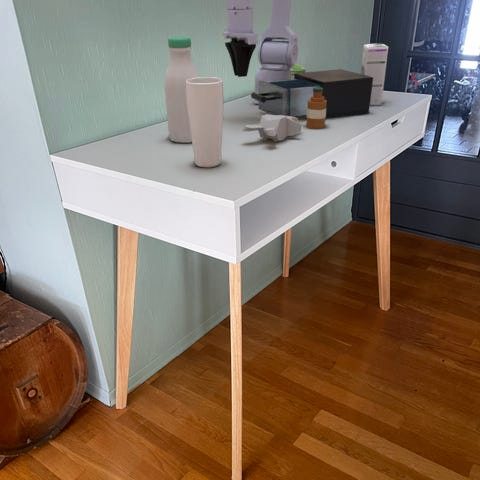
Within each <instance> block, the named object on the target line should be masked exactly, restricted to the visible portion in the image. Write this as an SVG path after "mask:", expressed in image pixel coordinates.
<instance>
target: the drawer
mask: <svg viewBox="0 0 480 480" xmlns="http://www.w3.org/2000/svg"><path fill="white" fill-rule="evenodd" d="M315 87H321V88H322V85H319V84H316V83H313V82H310V81H307V80H303V79H300V78H299V79H289V80H278V81H269V83H268V82H265V81H259V94H257V93H255V91H254V92H251V94H250V97H251V99H253V100H254V101H255V100H258V101H259V102H258V104H257V105H258V106H257V107H258V108H257V109H258V110H260V111H262V112H264V113H266V114H270V115H277V116H278V115H283V116H290V117H300V116H301V117H302V116H307V105H308V100H310V99H311V96H313V88H315Z"/></svg>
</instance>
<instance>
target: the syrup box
mask: <svg viewBox="0 0 480 480" xmlns="http://www.w3.org/2000/svg"><path fill="white" fill-rule="evenodd" d="M388 54H389V46H388V45H386V44H384V43H367V44H363V48H362V58H361V69H360V74H362V75H366V76H370V77H373V84H372V92H371V99H370V106H382V102H383V94H384V87H385V78H386V72H387V63H388V62H387V61H388Z"/></svg>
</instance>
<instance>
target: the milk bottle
mask: <svg viewBox="0 0 480 480" xmlns="http://www.w3.org/2000/svg"><path fill="white" fill-rule="evenodd" d="M167 43H168V45H167V46H168V50H169V53H170V54H169V57H170V58H169V60H168V61H169V62H168V65H167V68H166V71H165V76H164V94H165V107H166V109H165V110H166V118H167V129H168V130H167V131H168V137H169V139H170V141H172V142H175V143H186V144H187V143H192V137H191V130H190V124H189V117H188V110H187V101H186V80H188V79H191V78H198V77H200V76H199V73H198V70H197V68H196V66H195V64H194V61H193V59H192V54H191V50H192V47H191V46H192V39H191V37H189V36H171V37H168V39H167Z"/></svg>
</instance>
